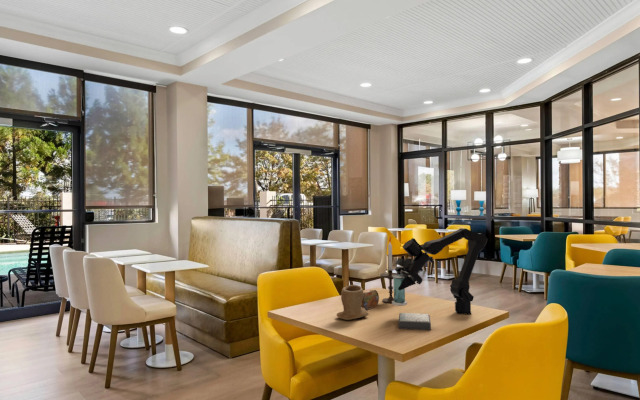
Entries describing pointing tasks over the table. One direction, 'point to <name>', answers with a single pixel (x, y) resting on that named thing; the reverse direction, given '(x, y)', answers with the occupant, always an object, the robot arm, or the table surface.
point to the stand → (414, 321)
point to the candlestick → (389, 274)
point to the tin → (370, 299)
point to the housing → (399, 291)
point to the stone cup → (352, 303)
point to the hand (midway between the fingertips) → (396, 288)
